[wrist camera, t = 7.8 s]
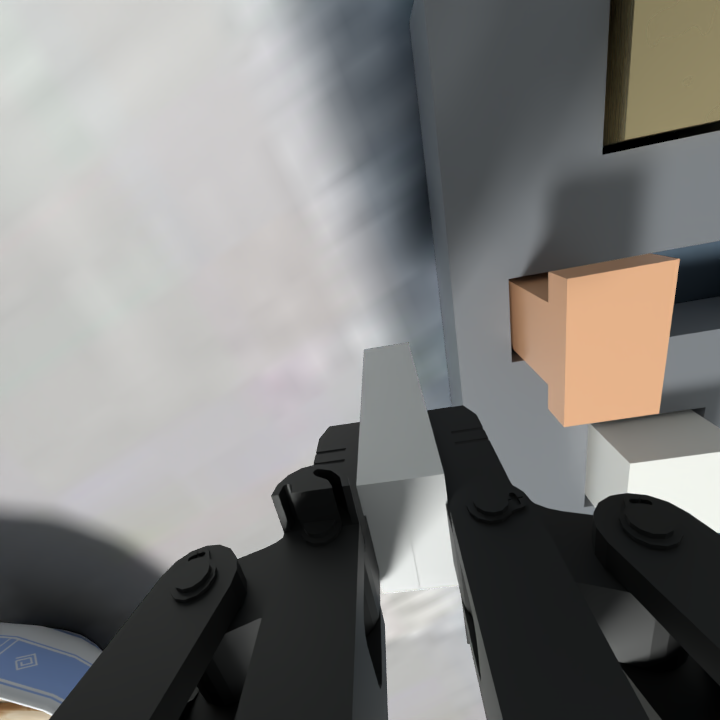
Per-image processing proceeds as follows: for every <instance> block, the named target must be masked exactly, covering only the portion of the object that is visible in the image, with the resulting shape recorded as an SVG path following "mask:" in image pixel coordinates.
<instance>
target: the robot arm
mask: <svg viewBox="0 0 720 720" xmlns="http://www.w3.org/2000/svg"><path fill="white" fill-rule="evenodd" d="M316 453H317V455H316V456H315V460H314V465H313V466H309V467H305V468H301V469H300V470H298V471H296V472H294V473H292V474H290V475H288V476H287V477H286V478H285V479H284V480H283V481H281V482H280V483H279V484H278V485H277V487H276V488H275V490H274V492H273V494H272V495H271V497H272V500H273V503H274V505H275V508H276V511H277V514H278V517H279V519H280V522H281V525H282V528H283V531H284V536H283V538H282V539H281V540H279V541H278V542H276V543H274V544H272V545H270V546H268V547H266V548H264V549H262V550H259V551H257V552H254V553H252V554H249V555H247V556H244V557H242V558H239V559H237V557H236V556H235V554H234V553H233V551H232V550H231V549H230V548H228V547H225V546H222V545H212V546H205V547H202V548H200V549H197V550H195V551H192V552H190V553H189V554H187V555H186V556H184V557H183V558H181V559H180V560H178V561H177V562H175V563H174V565H173V566H172V567H171V568H170V569H169V570H168V571H167V572H166V573H165V574H164V575H163V576H162V577H161V578H160V580H159V581H158V582H157V583H156V585H155V586H154V587H153V588H152V590H151V591H150V592H149V594H148V595H147V596H146V597H145V599H144V600H143V601H142V602H141V604H140V605H139V606H138V607H137V609H136V610H135V611H134V612H133V614H132V615H131V616H130V618H129V619H128V620H127V621H126V623H125V624H124V625H123V626H122V628H121V629H120V630H119V631H118V633H117V634H116V635H115V637H114V638H113V639H112V640H111V642H110V643H109V644H108V645H107V647H106V648H105V649H104V650H103V652H102V653H101V654H100V656H99V657H98V658H97V659H96V661H95V662H94V663H93V664H92V666H91V667H90V668H89V669H88V671H87V672H86V673H85V674H84V676H83V677H82V678H81V680H80V681H79V682H78V683H77V685H76V686H75V687H74V688H73V690H72V691H71V692H70V693H69V695H68V696H67V697H66V699H65V700H64V701H63V702H62V704H61V705H60V706H59V707H58V709H57V710H56V711H55V712H54V714H53V715H52V716H51V717H50V719H49V720H388V706H387V676H386V646H385V623H384V619H383V615H382V610H381V606H380V585H381V589H382V593H383V594H387V593H397V592H407V591H416V590H426V589H436V588H446V587H456V586H459V589H460V593H461V598H462V606H463V613H464V621H465V629H466V636H467V644H470V646H471V651H472V655H473V660H474V664H475V669H476V673H477V678H478V682H479V687H480V691H481V696H482V700H483V705H484V709H485V714H486V718H487V720H720V534H718V533H717V532H715V531H714V530H713V529H711V528H710V527H708V526H707V525H705V524H704V523H703V522H701V521H700V520H698V519H697V518H695V517H694V516H693V515H691V514H690V513H688V512H686V511H684V510H683V509H681V508H679V507H677V506H675V505H673V504H672V503H670V502H668V501H664V500H661V499H658V498H655V497H652V496H649V495H642V494H632V493H624V494H617V495H610V496H608V497H607V498H605V499H603V500H602V501H600V502H598V504H597V506H596V509H595V511H594V513H593V515H589V514H582V513H574V512H566V511H559V510H554V509H550V508H546V507H543V506H541V505H538V504H535V503H534V502H532V501H531V500H530V499H529V497H528V496H527V495H526V494H525V493H524V492H523V491H522V490H520V489H518V488H517V487H515V486H513V485H512V484H511V482H510V480H509V478H508V476H507V474H506V472H505V470H504V468H503V466H502V464H501V462H500V460H499V458H498V456H497V454H496V452H495V450H494V448H493V446H492V444H491V442H490V440H488V436H487V434H486V432H485V430H483V426H482V424H481V422H480V420H479V418H478V416H477V414H475V413H474V412H472V411H471V410H469V409H468V408H466V407H465V406H463V405H461V406H454V407H448V408H441V409H434V410H428V411H427V409H426V405H425V401H424V398H423V394H422V390H421V386H420V383H419V379H418V375H417V372H416V368H415V364H414V361H413V357H412V353H411V349H410V346H409V342H406V343H400V344H394V345H388V346H382V347H376V348H370V349H365V350H364V358H363V375H362V393H361V411H360V422H357V423H350V424H343V425H337V426H330V427H329V428H328V429H327V430H326V431H325V433H324V434H323V435H322V436H321V438H320V439H319V443H318V447H317V451H316Z"/></svg>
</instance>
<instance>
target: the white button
mask: <svg viewBox="0 0 720 720" xmlns="http://www.w3.org/2000/svg"><path fill="white" fill-rule="evenodd" d="M624 493H632V494H642V495H649V496H652V497H655V498H658V499H661V500H664V501H668V502H670V503H672V504H673V505H675V506H677V507H679V508H681V509H683V510H684V511H686V512H688V513H690V514H691V515H693V516H694V517H695V518H697V519H698V520H700V521H701V522H703V523H704V524H705V525H707V526H708V527H710V528H711V529H713V530H714V531H715V532H717V533H720V428H719V427H717V426H715V425H714V424H712V423H711V422H709V421H708V420H706V419H705V418H703V417H701V416H700V415H698V414H697V413H695V412H694V411H692V410H691V409H689V410H682V411H675V412H668V413H661V414H654V415H647V416H640V417H634V418H627V419H620V420H613V421H606V422H599V423H592V424H588V442H587V462H586V481H585V495H586V496H587V498H588V499H589V500H590V502H591V503H592V504H593V506H594V507H595V508H596V506H597V504H598V502H600V501H602V500H603V499H605V498H607V497H608V496H610V495H617V494H624Z"/></svg>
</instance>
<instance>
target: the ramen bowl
mask: <svg viewBox="0 0 720 720" xmlns="http://www.w3.org/2000/svg"><path fill="white" fill-rule="evenodd" d="M102 652H103V651H102V650H101V649H100V648H99V647H98V646H97V645H96V644H95V643H93V642H92V641H90V640H89V639H87V638H86V637H84V636H82V635H80V634H77V633H73V632H70V631H67V630H63V629H55V628H47V627H44V626H36V625H24V624H13V623H1V622H0V720H49V719H50V717H51V716H52V715H53V714H54V712H55V711H56V710H57V709H58V707H59V706H60V705H61V704H62V702H63V701H64V700H65V699H66V697H67V696H68V695H69V693H70V692H71V691H72V690H73V688H74V687H75V686H76V685H77V683H78V682H79V681H80V680H81V678H82V677H83V676H84V674H85V673H86V672H87V671H88V669H89V668H90V667H91V666H92V664H93V663H94V662H95V661H96V659H97V658H98V657H99V656H100V654H101V653H102Z"/></svg>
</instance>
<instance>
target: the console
mask: <svg viewBox="0 0 720 720" xmlns="http://www.w3.org/2000/svg"><path fill="white" fill-rule="evenodd" d="M609 14H610V0H414V3H413V7H412V12H411V17H410V21H409V26H410V35H411V44H412V53H413V62H414V71H415V80H416V89H417V98H418V107H419V116H420V125H421V134H422V143H423V152H424V161H425V170H426V179H427V188H428V197H429V206H430V215H431V224H432V233H433V242H434V251H435V260H436V269H437V278H438V287H439V296H440V305H441V314H442V323H443V332H444V341H445V350H446V359H447V368H448V377H449V386H450V395H451V404H452V407H454V406H461V405H463V406H465V407H466V408H468V409H469V410H471V411H472V412H474V413H475V414H477V416H478V418H479V420H480V422H481V424H482V426H483V430H485V432H486V434H487V436H488V440H490V442H491V444H492V446H493V448H494V450H495V452H496V454H497V456H498V458H499V460H500V462H501V464H502V466H503V468H504V470H505V472H506V474H507V476H508V478H509V480H510V482H511V484H512V485H513V486H515V487H517V488H518V489H520V490H522V491H523V492H524V493H525V494H526V495H527V496H528V497H529V499H530V500H531V501H532V502H534V503H535V504H538V505H541V506H543V507H546V508H550V509H554V510H559V511H566V512H574V513H582V514H589V515H593V513H594V511H595V509H596V508H595V507H594V506H593V504H592V503H591V502H590V500H589V499H588V498H587V496H586V495H585V481H586V462H587V442H588V424H583V425H576V426H569V427H563V425H562V424H561V423H560V422H559V421H558V420H557V419H556V417H555V416H554V415H553V414H552V413H551V412H550V411H549V409H548V384H547V383H546V382H545V381H544V380H543V379H542V378H541V377H540V376H539V375H538V374H537V373H536V372H535V371H534V370H533V369H532V368H531V367H530V366H529V365H528V364H527V363H526V362H525V361H524V360H523V359H522V358H521V357H520V356H519V355H518V354H517V353H516V352H515V351H514V350H513V349H512V348H511V329H510V303H509V279H511V278H517V277H522V276H528V275H533V274H539V273H544V272H550V271H555V270H561V269H566V268H572V267H577V266H583V265H588V264H594V263H599V262H605V261H610V260H616V259H621V258H627V257H632V256H638V255H643V254H649V253H654V252H660V251H665V250H671V249H676V248H682V247H687V246H693V245H698V244H704V243H709V242H715V241H720V121H719V122H714V123H710V124H706V125H702V126H697V127H693V128H689V129H685V130H680V131H679V139H676V140H671V141H667V142H662V143H657V144H652V145H647V146H643V147H638V148H633V149H628V150H623V151H619V152H614V153H609V154H604V155H602V150H603V131H604V111H605V92H606V72H607V53H608V33H609ZM689 409H691V410H692V411H694V412H695V413H697V414H698V415H700V416H701V417H703V418H705V419H706V420H708V421H709V422H711V423H712V424H714V425H715V426H717V427H719V428H720V296H719V297H713V298H707V299H701V300H695V301H689V302H684V303H678V304H674V306H673V314H672V321H671V328H670V336H669V343H668V351H667V358H666V366H665V373H664V380H663V388H662V395H661V403H660V410H659V414H661V413H668V412H675V411H682V410H689ZM652 415H654V414H652ZM645 416H647V415H645ZM638 417H640V416H638ZM632 418H634V417H632ZM625 419H627V418H625ZM618 420H620V419H618ZM611 421H613V420H611ZM604 422H606V421H604ZM597 423H599V422H597ZM590 424H592V423H590Z"/></svg>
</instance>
